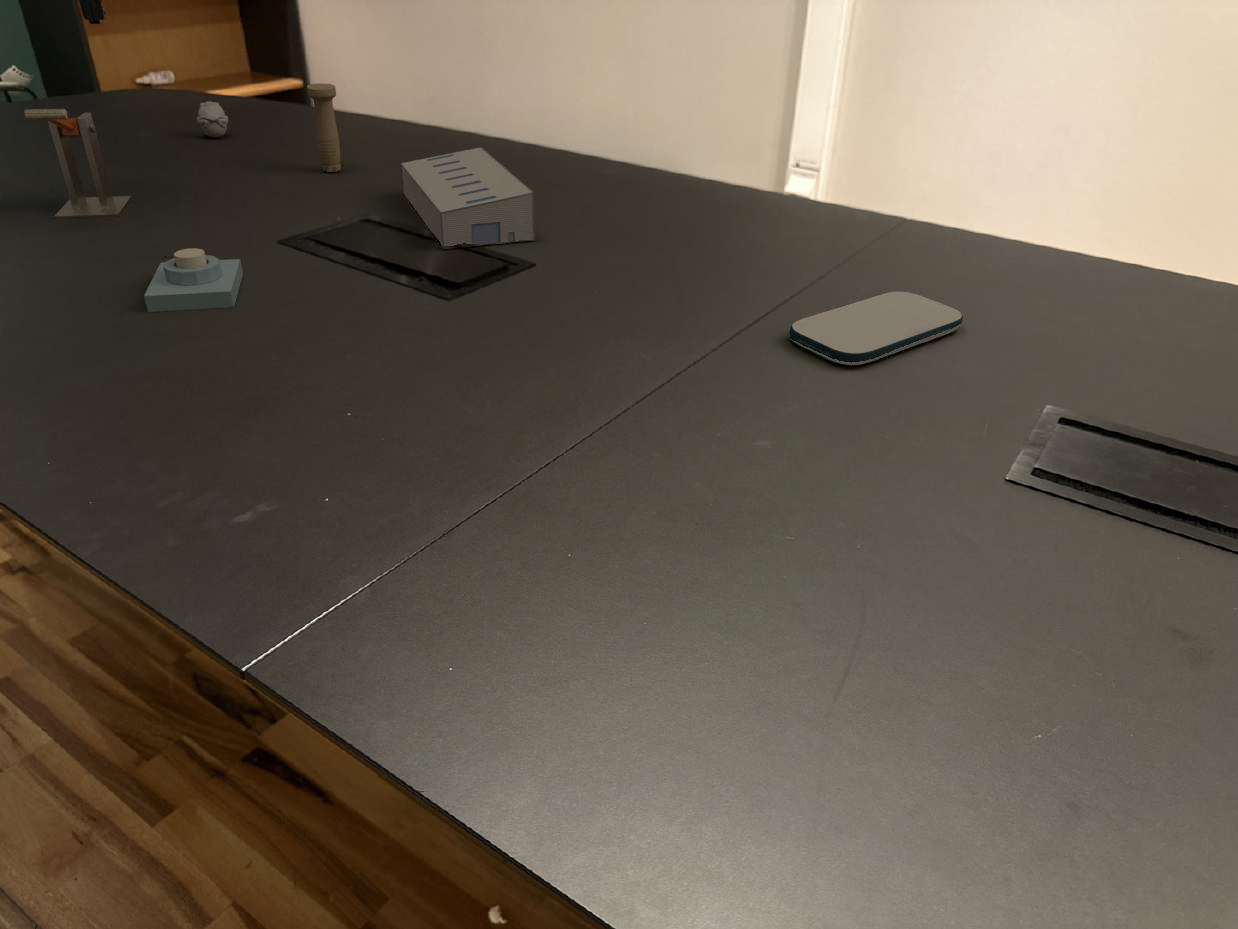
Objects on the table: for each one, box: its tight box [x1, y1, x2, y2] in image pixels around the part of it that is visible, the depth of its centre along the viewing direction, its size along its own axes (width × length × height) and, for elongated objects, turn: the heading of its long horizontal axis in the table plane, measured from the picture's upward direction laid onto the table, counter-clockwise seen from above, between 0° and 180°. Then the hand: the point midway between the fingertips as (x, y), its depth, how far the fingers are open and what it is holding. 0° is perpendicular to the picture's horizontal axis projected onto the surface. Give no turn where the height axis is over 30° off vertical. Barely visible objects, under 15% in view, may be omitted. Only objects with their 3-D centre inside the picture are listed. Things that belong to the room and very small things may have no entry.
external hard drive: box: [788, 290, 964, 363], centre depth 113 cm, size 24×12×2 cm, turn 127°
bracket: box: [47, 112, 132, 220], centre depth 140 cm, size 10×9×15 cm
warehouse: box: [400, 146, 536, 246], centre depth 146 cm, size 30×14×8 cm, turn 23°
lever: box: [23, 108, 82, 139], centre depth 132 cm, size 13×5×2 cm, turn 15°
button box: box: [143, 254, 244, 313], centre depth 116 cm, size 12×10×4 cm
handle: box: [306, 83, 342, 173], centre depth 166 cm, size 5×6×15 cm
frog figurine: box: [196, 100, 229, 139], centre depth 188 cm, size 6×7×7 cm
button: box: [173, 247, 207, 269], centre depth 115 cm, size 4×4×2 cm
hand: (96, 23), depth 134 cm, fingers closed
